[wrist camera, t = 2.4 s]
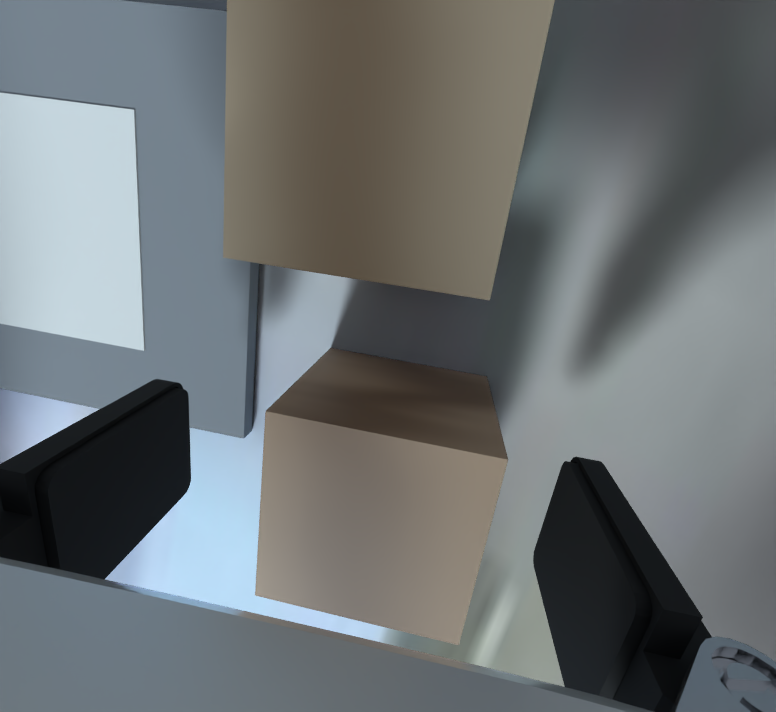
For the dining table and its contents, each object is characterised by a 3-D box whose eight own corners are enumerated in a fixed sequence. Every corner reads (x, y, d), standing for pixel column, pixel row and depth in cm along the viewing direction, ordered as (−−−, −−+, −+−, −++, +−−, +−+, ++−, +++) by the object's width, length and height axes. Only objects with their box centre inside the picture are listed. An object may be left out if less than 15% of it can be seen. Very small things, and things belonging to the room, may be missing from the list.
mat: (269, 25, 11) (258, 13, 10) (251, 430, 14) (243, 439, 14) (-181, -22, 12) (-215, -35, 12) (-94, 359, 16) (-116, 364, 15)
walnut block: (486, 375, 13) (508, 460, 8) (455, 508, 14) (458, 644, 10) (331, 347, 13) (265, 411, 9) (317, 479, 15) (255, 595, 10)
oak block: (513, 76, 10) (566, -52, 6) (473, 273, 12) (489, 300, 7) (324, 56, 11) (228, -78, 6) (309, 247, 12) (223, 257, 8)
